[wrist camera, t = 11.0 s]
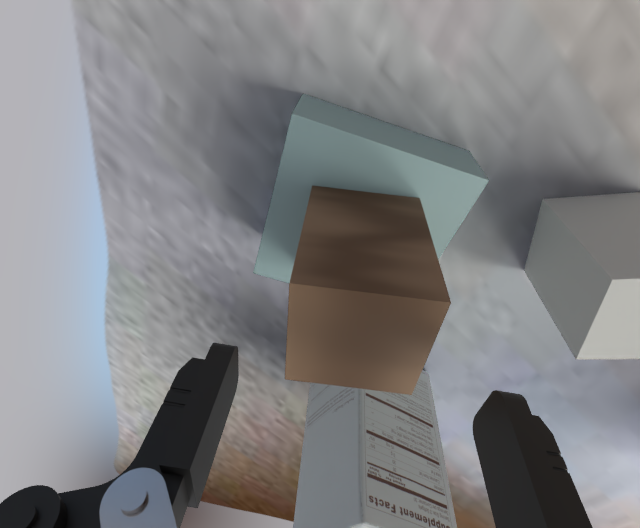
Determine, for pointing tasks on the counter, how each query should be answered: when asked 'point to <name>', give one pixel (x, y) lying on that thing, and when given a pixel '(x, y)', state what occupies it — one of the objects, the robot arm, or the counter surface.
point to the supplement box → (372, 460)
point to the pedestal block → (362, 176)
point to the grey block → (590, 272)
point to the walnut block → (363, 292)
